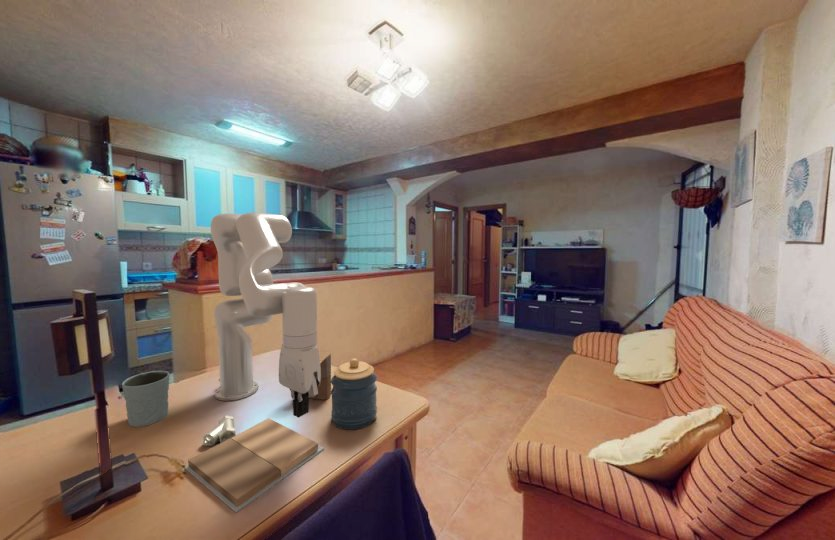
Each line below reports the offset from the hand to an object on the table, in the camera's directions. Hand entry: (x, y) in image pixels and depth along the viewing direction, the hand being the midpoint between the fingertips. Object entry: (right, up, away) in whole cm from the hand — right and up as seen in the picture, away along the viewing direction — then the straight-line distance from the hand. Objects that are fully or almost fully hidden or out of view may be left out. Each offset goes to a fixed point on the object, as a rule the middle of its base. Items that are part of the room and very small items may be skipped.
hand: (301, 413), depth 73 cm
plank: (-7, -9, +2) cm, 12 cm away
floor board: (-12, -10, -7) cm, 17 cm away
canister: (+10, -9, +16) cm, 20 cm away
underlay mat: (-9, -10, -2) cm, 14 cm away
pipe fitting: (-23, -9, +6) cm, 26 cm away
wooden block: (-6, -8, +28) cm, 30 cm away
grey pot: (-49, -8, +14) cm, 52 cm away
